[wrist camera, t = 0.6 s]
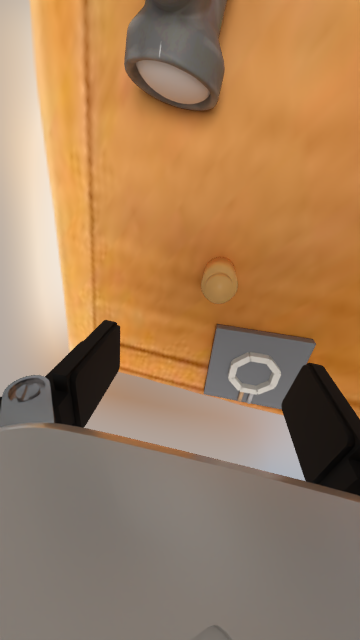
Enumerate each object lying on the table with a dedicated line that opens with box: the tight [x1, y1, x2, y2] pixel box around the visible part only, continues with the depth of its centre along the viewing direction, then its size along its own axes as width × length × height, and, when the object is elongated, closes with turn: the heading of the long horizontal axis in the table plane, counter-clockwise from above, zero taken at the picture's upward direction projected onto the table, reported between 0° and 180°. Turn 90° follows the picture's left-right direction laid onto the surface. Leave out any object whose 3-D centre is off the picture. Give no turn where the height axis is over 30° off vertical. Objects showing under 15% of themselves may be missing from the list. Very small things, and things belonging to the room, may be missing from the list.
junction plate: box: [204, 324, 316, 409], centre depth 34 cm, size 14×14×2 cm
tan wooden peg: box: [201, 257, 238, 304], centre depth 25 cm, size 4×4×8 cm
